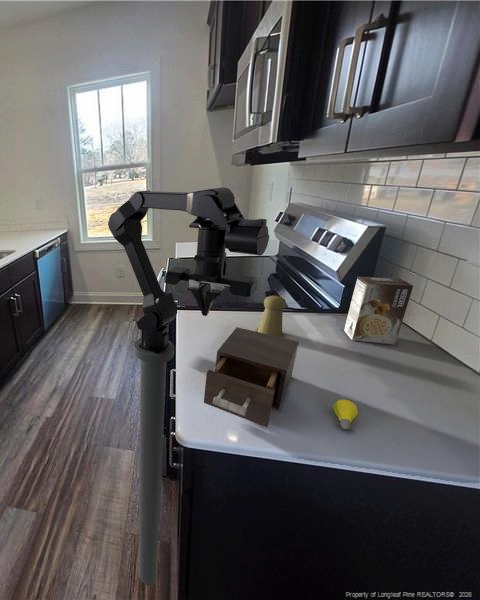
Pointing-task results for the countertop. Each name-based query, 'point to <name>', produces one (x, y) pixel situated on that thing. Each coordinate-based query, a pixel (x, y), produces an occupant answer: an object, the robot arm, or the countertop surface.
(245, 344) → the cabinet
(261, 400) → the drawer
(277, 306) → the cork
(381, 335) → the coffee box
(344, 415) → the light bulb
